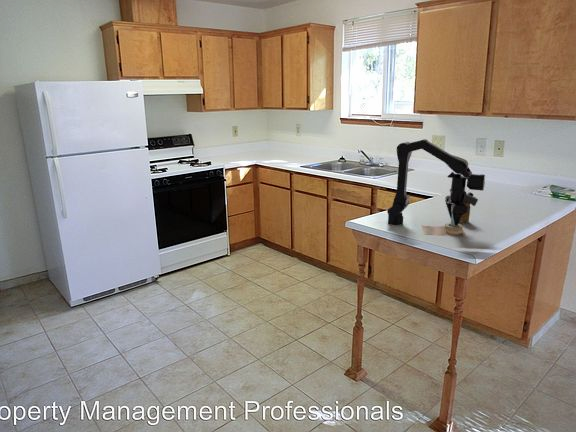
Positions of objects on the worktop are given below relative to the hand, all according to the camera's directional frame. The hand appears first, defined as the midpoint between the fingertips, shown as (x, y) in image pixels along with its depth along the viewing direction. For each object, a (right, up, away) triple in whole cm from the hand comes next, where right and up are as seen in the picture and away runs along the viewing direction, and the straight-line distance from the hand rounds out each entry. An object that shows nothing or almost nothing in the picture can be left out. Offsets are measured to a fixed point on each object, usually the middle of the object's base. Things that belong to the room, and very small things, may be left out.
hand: (454, 222), depth 192 cm
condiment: (+11, -2, +16) cm, 19 cm away
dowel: (0, -4, +1) cm, 4 cm away
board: (-4, -5, +3) cm, 7 cm away
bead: (0, -4, +1) cm, 4 cm away
